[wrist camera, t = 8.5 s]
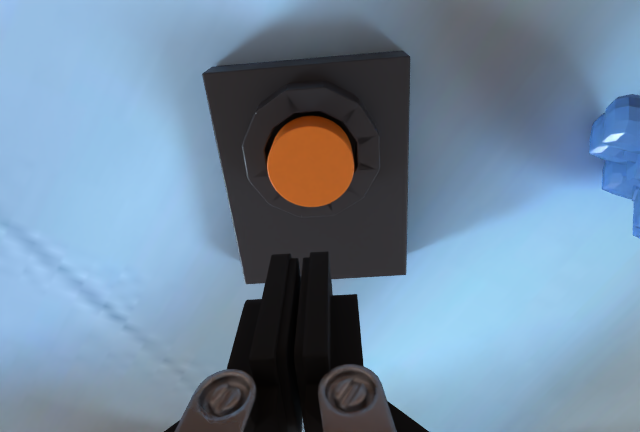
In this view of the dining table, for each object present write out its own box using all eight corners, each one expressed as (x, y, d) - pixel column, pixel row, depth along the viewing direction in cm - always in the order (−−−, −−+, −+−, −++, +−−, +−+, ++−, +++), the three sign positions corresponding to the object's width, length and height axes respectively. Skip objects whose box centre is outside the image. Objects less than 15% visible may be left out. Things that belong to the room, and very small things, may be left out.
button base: (211, 66, 24) (192, 79, 21) (403, 50, 24) (417, 61, 20) (250, 266, 31) (240, 301, 27) (401, 256, 30) (411, 292, 27)
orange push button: (266, 118, 22) (260, 129, 20) (350, 112, 22) (352, 122, 20) (277, 194, 24) (273, 210, 22) (353, 189, 24) (356, 204, 22)
